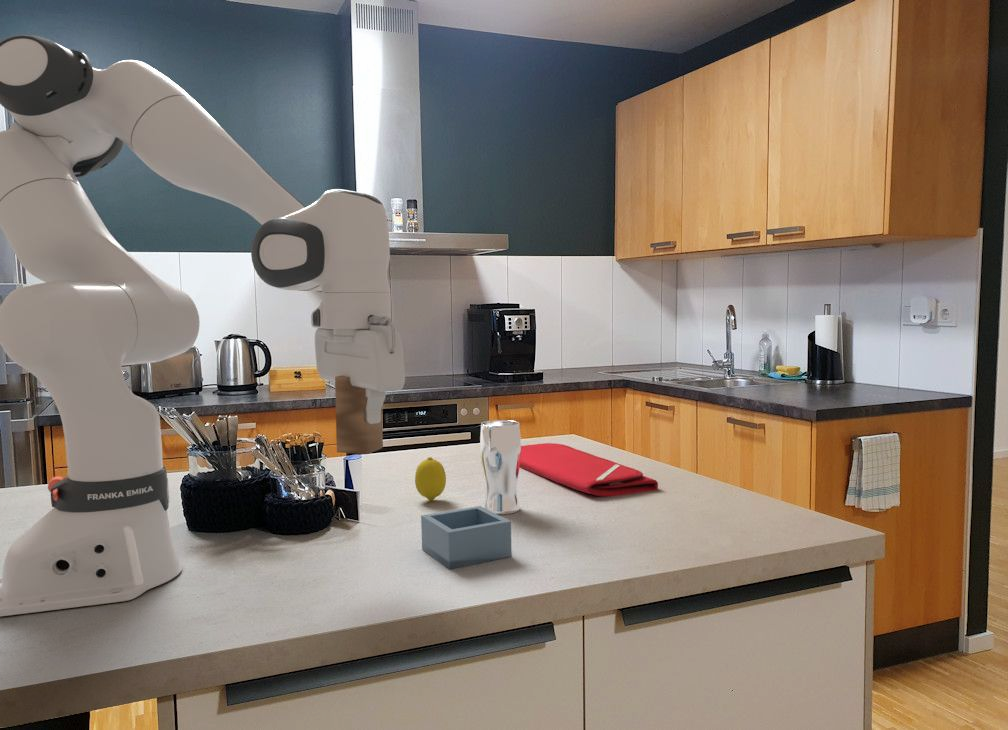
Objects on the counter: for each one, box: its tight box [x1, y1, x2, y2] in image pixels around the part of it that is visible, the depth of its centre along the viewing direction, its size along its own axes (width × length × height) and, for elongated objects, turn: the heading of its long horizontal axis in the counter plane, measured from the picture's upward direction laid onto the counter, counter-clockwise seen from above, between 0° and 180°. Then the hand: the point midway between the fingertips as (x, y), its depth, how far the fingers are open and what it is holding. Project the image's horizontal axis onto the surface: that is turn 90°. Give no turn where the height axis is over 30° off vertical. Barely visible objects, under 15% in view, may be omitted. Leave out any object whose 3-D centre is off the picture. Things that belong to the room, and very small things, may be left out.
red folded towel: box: [519, 442, 659, 498], centre depth 157 cm, size 16×41×4 cm, turn 23°
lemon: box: [414, 456, 447, 502], centre depth 136 cm, size 6×6×8 cm
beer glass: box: [479, 419, 522, 515], centre depth 129 cm, size 7×7×15 cm
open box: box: [420, 505, 512, 570], centre depth 107 cm, size 10×10×5 cm
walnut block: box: [334, 376, 384, 455], centre depth 101 cm, size 4×4×10 cm
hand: (359, 419), depth 101 cm, fingers closed on walnut block, 6 cm apart
